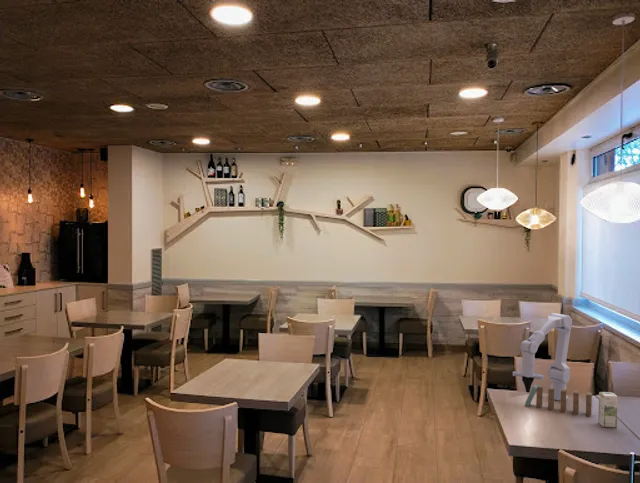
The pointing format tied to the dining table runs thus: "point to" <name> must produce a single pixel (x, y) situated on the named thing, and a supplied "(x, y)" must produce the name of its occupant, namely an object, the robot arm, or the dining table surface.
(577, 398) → the domino
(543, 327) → the robot arm
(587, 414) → the domino
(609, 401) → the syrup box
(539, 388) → the domino
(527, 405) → the domino
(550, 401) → the domino
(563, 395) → the domino
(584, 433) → the dining table surface
